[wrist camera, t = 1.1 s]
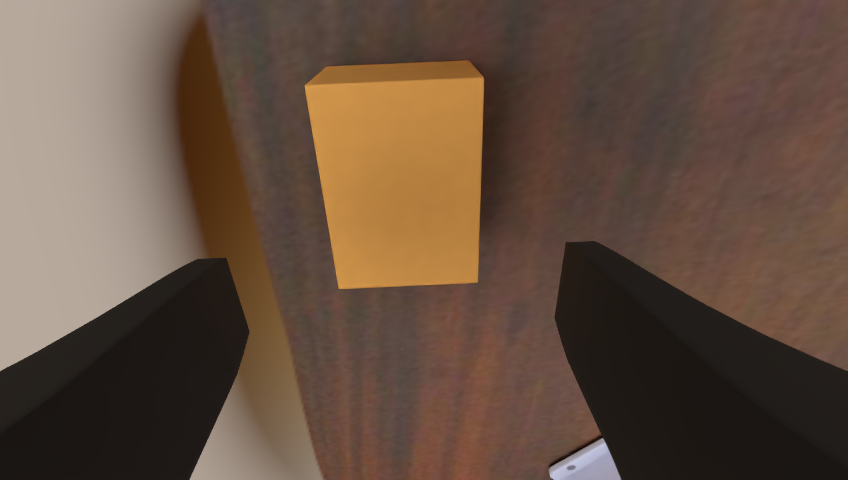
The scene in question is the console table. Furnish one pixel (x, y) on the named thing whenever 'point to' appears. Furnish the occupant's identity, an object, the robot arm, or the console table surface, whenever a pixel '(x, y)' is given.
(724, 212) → the console table surface
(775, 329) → the console table surface
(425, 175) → the orange block
